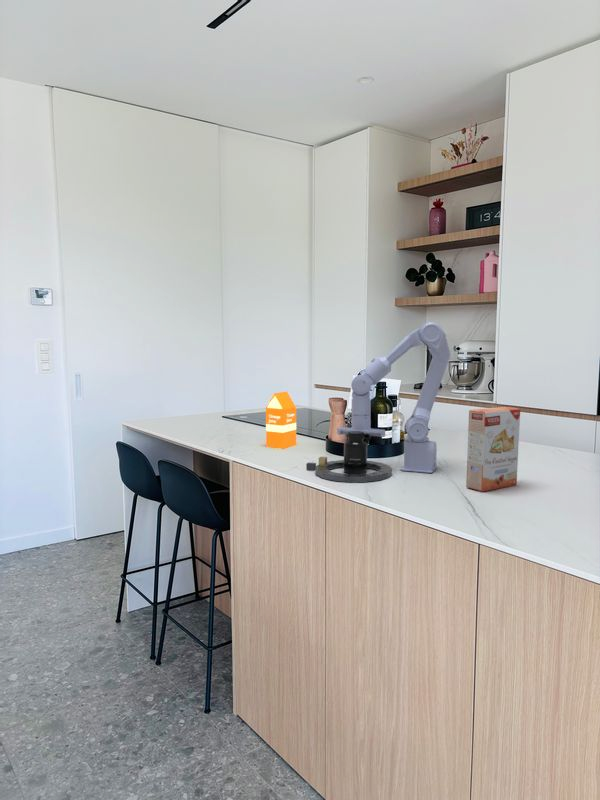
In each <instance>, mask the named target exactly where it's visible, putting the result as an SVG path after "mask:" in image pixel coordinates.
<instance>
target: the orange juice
mask: <svg viewBox="0 0 600 800" xmlns="http://www.w3.org/2000/svg"><path fill="white" fill-rule="evenodd" d="M265 431H266V432H265V434H266V435H265V438H266V439H265V441H266V444H265V447H266V446H268V447H274V448H273V449H277V448H281V449H280V450H285V448H286V449H288V447H289V448H292V447H291V446H293V447H295V445H296V446H297V406H296V405H295V403H294V401H293V399H292V397H291V396H290V393H289V392H288V391H281V392H275V393H273V395H272V396H271V398H270V400H269V401H268V403H267V405H266V407H265ZM268 447H267V448H268Z"/></svg>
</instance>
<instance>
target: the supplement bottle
mask: <svg viewBox="0 0 600 800" xmlns="http://www.w3.org/2000/svg"><path fill="white" fill-rule="evenodd" d="M364 434H365V433H364V432H361V431H349V432H348V435H347V440H346V441H345V442H344V443H343V460H344V467H343V471H344V472H343V473H345V474H367V471H368V470H367V469H368V468H367V461H368V445H367V443H366V442H365V441H364V440H363V439H364Z"/></svg>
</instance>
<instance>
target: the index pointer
mask: <svg viewBox="0 0 600 800" xmlns="http://www.w3.org/2000/svg"><path fill="white" fill-rule="evenodd" d="M316 466H317V463H316V462H310V461H308V462H307V463H306V466H305V467H306V471H316Z"/></svg>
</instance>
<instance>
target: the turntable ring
mask: <svg viewBox="0 0 600 800" xmlns="http://www.w3.org/2000/svg"><path fill="white" fill-rule="evenodd" d="M337 468H338V469H339V468H344V459H341V460H331V461H330V460H329V461H328V457H327V456H319V457H318V464H316V470H315V475H316V476H317V477H319V478H322V479H325V480H329V481H334V482H346V483H368V482H376V481H381V480H384V479H388V478H390V477H391V476H392V475H393V468H392V466H390V465H388V464H385V463H382V462H379V461H373V460H367V469H372V470H375V471H374V472H369V473H368V472H366V473H364V474H348V473H344V472H343V473H340V472H335V471H331V470H332V469H333V470H334V469H337Z"/></svg>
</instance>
